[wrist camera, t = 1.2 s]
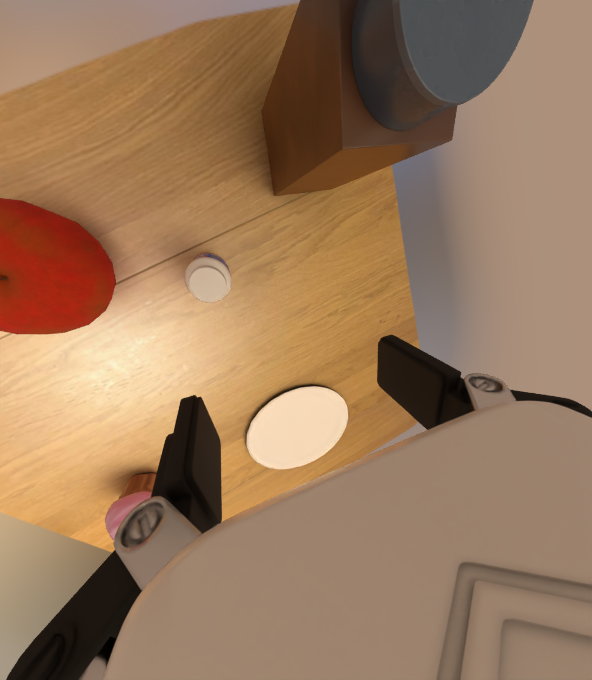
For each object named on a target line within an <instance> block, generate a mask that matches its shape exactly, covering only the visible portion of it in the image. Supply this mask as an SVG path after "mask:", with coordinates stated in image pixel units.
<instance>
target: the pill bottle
mask: <svg viewBox="0 0 592 680" xmlns="http://www.w3.org/2000/svg"><path fill="white" fill-rule="evenodd" d="M185 283H186V286H187V288H188V290H189V291H190V292H191V294H192V295H193V296H195V297H196V298H197V299H199V300H200V301H203V302H207V303H212V302H216V301H219V300H221V299H223V298H224V297H225V296H226V295H227V294H228V293H229V291H230V288H231V284H232V281H231V275H230V272H229V268H228V266H227V264H226V263H225V261H224V260H223V259H222V258H221V257H219V256H217V255H215V254H212V253H204V254H201V255H198V256H197V257H196V258H195V259H194V260H193V261H192V262H191V263H190V264H189V265H188V267H187V269H186V272H185Z"/></svg>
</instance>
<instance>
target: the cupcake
mask: <svg viewBox="0 0 592 680" xmlns="http://www.w3.org/2000/svg"><path fill="white" fill-rule="evenodd" d="M155 478H156V474H155V473H147V474H139V475H134V476H133V477H132V478H131V479H130V480H129V481H128V483H127V485H126V487H125V489H124V491H123V493H122V495H121V496H120V498H119V499H118V500H117V501H115V502H114V503H113V504H112V505H111V507H110V508H109V510H108V512H107V514H106V517H105V523H106V529H107V531H108V533H109V534H110V537H111V538H112V539H113V540H114V538H115V534H116V532H117V529H118V527H119V525H120V524H121V522H122V521H123V519H124V518H125V517H126V515H127V514H128V513H129V512H130V511H131V510H132V509H133V508H134V507H136V506H137V505H138V504H139V503H141V502H143V501H144V500H146V499H148V498H151V494H152V490H153V486H154V482H155Z"/></svg>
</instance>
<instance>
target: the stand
mask: <svg viewBox="0 0 592 680" xmlns="http://www.w3.org/2000/svg"><path fill="white" fill-rule="evenodd" d="M356 2H357V0H300V3H299V6H298V9H297V12H296V15H295V17H294V20H293V23H292V26H291V29H290V32H289V34H288V37H287V40H286V43H285V46H284V49H283V51H282V54H281V57H280V60H279V63H278V66H277V68H276V71H275V74H274V77H273V80H272V83H271V85H270V88H269V91H268V94H267V97H266V100H265V103H264V105H263V108H262V117H263V124H264V131H265V137H266V144H267V150H268V157H269V164H270V170H271V177H272V183H273V190H274V196H280V195H288V194H296V193H305V192H313V191H321V190H329V189H333V188H336V187H338V186H341V185H343V184H346V183H348V182H350V181H353V180H355V179H358V178H360V177H363V176H365V175H368V174H370V173H373V172H375V171H378V170H380V169H383V168H385V167H387V166H390V165H392V164H395V163H397V162H400V161H402V160H405V159H407V158H409V157H412V156H415V155H417V154H419V153H422V152H424V151H427V150H429V149H432V148H434V147H437V146H439V145H442V144H444V143H447V142H449V141H451V140H452V137H453V130H454V124H455V117H456V110H457V106H453V107H451V108H450V109H448V110H446V111H444V112H442V113H441V114H439V115H437V116H435V117H433V118H431V119H430V120H428V121H426V122H424V123H422V124H420V125H419V126H417V127H415V128H412V129H410V130H404V131H396V130H392V129H389V128H387V127H385V126H383V125H382V124H380V123H379V122H378V121H377V120H376V119H375V118H374V117H373V116H372V115H371V113H370V112H369V111H368V109H367V108H366V106H365V104H364V102H363V100H362V98H361V95H360V93H359V90H358V87H357V84H356V80H355V75H354V70H353V63H352V50H351V38H352V24H353V16H354V11H355V6H356Z"/></svg>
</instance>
